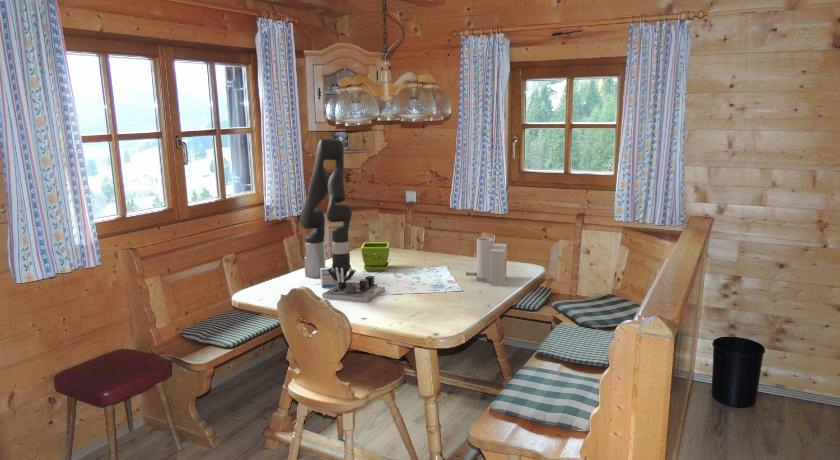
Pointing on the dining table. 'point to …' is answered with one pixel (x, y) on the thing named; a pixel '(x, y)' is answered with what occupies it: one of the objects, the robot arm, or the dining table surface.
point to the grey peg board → (357, 291)
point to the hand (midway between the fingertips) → (342, 290)
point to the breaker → (350, 288)
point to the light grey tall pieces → (490, 262)
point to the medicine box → (327, 278)
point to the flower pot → (375, 255)
